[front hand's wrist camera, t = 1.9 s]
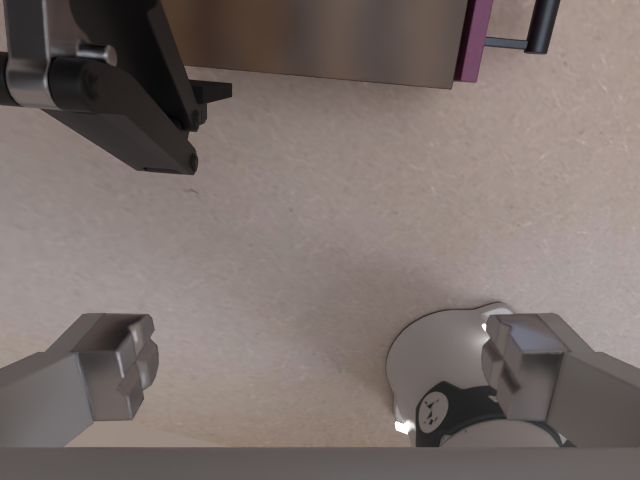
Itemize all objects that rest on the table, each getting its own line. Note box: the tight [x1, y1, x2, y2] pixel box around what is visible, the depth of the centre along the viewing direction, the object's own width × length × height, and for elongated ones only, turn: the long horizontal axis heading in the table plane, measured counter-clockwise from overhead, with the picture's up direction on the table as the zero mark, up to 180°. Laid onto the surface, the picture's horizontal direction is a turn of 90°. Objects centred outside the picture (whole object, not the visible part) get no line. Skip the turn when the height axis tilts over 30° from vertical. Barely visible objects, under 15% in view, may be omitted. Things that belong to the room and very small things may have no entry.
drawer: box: [453, 0, 560, 82], centre depth 32 cm, size 25×10×7 cm, turn 85°
